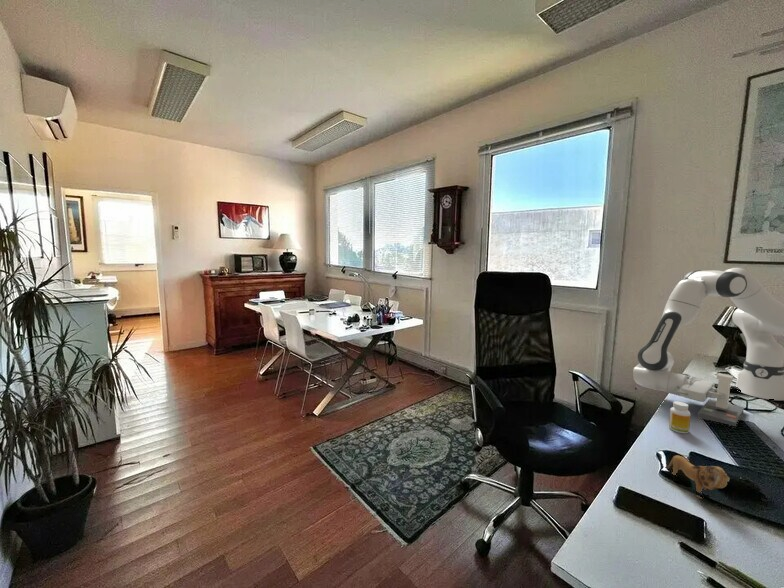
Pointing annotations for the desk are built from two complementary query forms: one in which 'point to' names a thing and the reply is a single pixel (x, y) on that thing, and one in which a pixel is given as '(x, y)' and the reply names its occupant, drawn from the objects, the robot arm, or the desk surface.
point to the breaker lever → (723, 390)
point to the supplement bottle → (679, 417)
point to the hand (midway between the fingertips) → (726, 395)
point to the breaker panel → (721, 413)
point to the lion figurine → (700, 474)
